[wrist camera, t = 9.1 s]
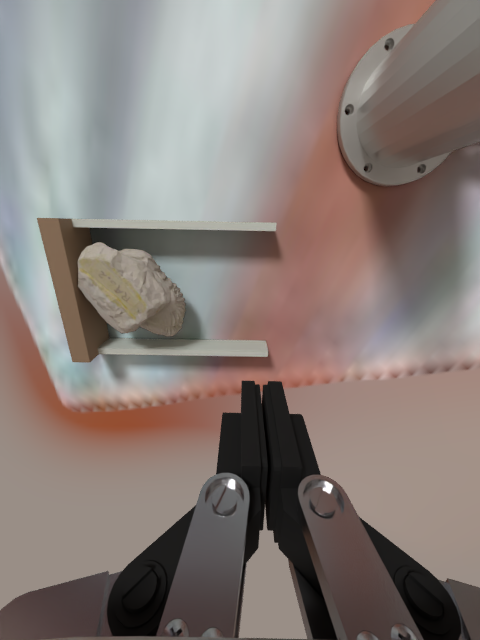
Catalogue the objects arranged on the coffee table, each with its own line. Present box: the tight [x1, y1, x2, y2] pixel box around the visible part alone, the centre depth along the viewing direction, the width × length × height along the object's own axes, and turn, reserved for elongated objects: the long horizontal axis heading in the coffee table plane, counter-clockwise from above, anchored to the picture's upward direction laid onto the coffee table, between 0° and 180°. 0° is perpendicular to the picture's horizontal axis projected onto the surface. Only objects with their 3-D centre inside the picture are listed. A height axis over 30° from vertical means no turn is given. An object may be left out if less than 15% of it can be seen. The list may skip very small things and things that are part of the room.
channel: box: [37, 218, 276, 362], centre depth 29 cm, size 23×16×5 cm
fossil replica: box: [78, 242, 186, 336], centre depth 28 cm, size 12×8×10 cm
